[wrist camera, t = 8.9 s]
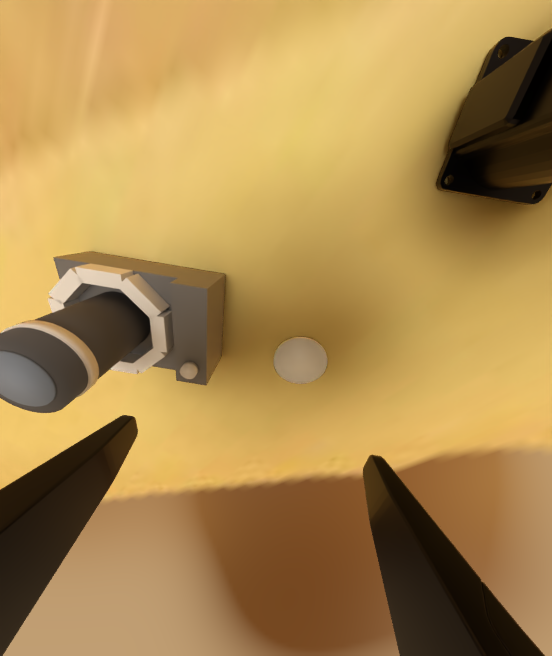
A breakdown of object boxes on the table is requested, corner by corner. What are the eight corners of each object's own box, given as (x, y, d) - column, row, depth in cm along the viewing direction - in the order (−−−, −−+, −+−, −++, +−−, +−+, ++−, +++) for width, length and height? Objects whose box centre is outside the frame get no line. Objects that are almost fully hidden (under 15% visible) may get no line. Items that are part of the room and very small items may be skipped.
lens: (147, 294, 16) (51, 345, 9) (155, 348, 18) (80, 421, 11) (82, 286, 16) (-59, 331, 9) (98, 341, 18) (-10, 410, 11)
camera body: (225, 273, 18) (203, 291, 13) (221, 356, 21) (203, 390, 17) (89, 251, 18) (24, 261, 13) (108, 337, 21) (62, 367, 17)
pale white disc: (332, 340, 20) (334, 344, 19) (318, 382, 22) (319, 387, 22) (278, 330, 20) (278, 334, 19) (270, 373, 22) (269, 378, 22)
